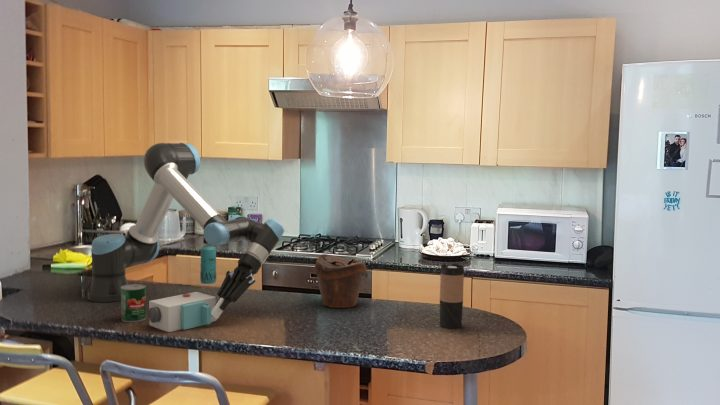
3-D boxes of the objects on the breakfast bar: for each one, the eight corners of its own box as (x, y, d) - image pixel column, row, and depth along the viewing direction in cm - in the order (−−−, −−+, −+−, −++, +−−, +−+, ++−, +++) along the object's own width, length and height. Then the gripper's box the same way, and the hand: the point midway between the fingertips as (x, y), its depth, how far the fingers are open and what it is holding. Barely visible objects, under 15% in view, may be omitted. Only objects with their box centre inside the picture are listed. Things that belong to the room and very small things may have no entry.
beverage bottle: (197, 286, 263) (196, 238, 261) (206, 283, 269) (206, 236, 268) (210, 288, 261) (210, 239, 259) (219, 285, 267) (219, 237, 265)
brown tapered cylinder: (369, 309, 231) (369, 260, 230) (313, 310, 230) (313, 260, 228) (365, 298, 249) (366, 252, 247) (313, 299, 247) (313, 252, 246)
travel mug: (456, 330, 208) (458, 269, 206) (435, 326, 212) (436, 266, 210) (465, 324, 215) (467, 265, 213) (444, 321, 219) (446, 262, 217)
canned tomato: (135, 323, 210) (134, 290, 209) (116, 320, 213) (115, 287, 212) (151, 317, 217) (150, 285, 216) (132, 314, 220) (131, 283, 219)
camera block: (145, 326, 207) (144, 300, 206) (196, 314, 222) (196, 290, 221) (164, 333, 199) (164, 306, 199) (216, 320, 214) (216, 295, 213)
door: (181, 328, 204) (181, 305, 203) (202, 323, 210) (202, 301, 209) (189, 331, 201) (189, 308, 200) (211, 326, 207) (210, 303, 206)
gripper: (271, 268, 217) (232, 327, 206) (246, 263, 225) (207, 319, 214) (259, 254, 212) (218, 314, 201) (234, 250, 221) (193, 306, 210)
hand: (213, 316), depth 208 cm, fingers closed
